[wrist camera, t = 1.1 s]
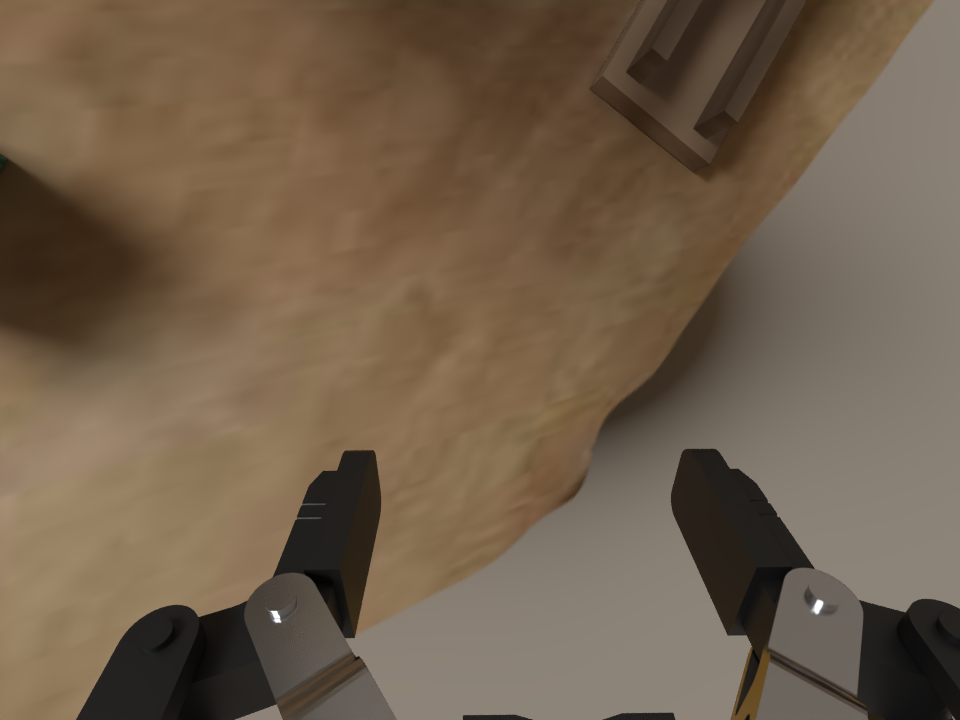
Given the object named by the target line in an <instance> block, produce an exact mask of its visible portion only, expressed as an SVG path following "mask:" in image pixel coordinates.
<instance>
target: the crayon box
mask: <svg viewBox="0 0 960 720" xmlns="http://www.w3.org/2000/svg"><path fill="white" fill-rule="evenodd" d="M6 161H7V159H6V158H5V157H4V156H2V155H1V154H0V171H1V169H2V168H3V167H4V165H5V162H6Z"/></svg>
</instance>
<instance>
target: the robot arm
mask: <svg viewBox="0 0 960 720" xmlns="http://www.w3.org/2000/svg"><path fill="white" fill-rule="evenodd" d="M671 505H672V511H673V514H674V517H675V519H676V521H677V524H678V526H679V528H680V530H681V532H682V535H683V537H684V539H685V541H686V544H687V546H688V548H689V550H690V552H691V555H692V557H693V559H694V561H695V563H696V565H697V568H698V570H699V573H700V575H701V577H702V579H703V581H704V584H705V586H706V588H707V590H708V593H709V595H710V597H711V599H712V601H713V603H714V606H715V608H716V610H717V613H718V615H719V617H720V619H721V621H722V623H723V626H724V628H725V630H726V632H727V635H747V637H748V639H749V641H750V643H751V645H752V647H751V649H750V652H749V654H748V658H747V661H746V665H745V669H744V673H743V676H742V680H741V683H740V687H739V691H738V695H737V698H736V702H735V705H734V709H733V713H732V716H731V720H953V719H952V716H953V717H954V718H955V720H960V609H959V608H957V607H955V606H953V605H950V604H948V603H945V602H942V601H938V600H933V599H921V600H917V601H915V602H914V603H912V604H911V606H910V607H909V609H908V610H907V611H906V613H905V612H901V611H898V610H894V609H890V608H886V607H882V606H878V605H875V604H871V603H867V602H864V601H860V600H858V599H857V597H856V596H855V595H854V594H853V592H852V591H851V590H850V589H849V588H848V587H847V586H846V585H844V584H843V583H842V582H840V581H839V580H837V579H836V578H834V577H833V576H831V575H829V574H827V573H824V572H822V571H819V570H815V568H814V567H813V565H812V564H811V563H810V561H809V560H808V558H807V557H806V555H805V554H804V552H803V551H802V549H801V548H800V547H799V545H798V544H797V542H796V541H795V539H794V538H793V536H792V535H791V533H790V532H789V530H788V529H787V528H786V526H785V525H784V523H783V522H782V520H781V519H780V517H777V513H776V511H775V510H774V508H773V507H772V506H771V504H770V503H768V501H767V498H766V497H765V495H764V494H763V492H762V491H761V490H760V488H759V487H758V485H757V484H756V483H755V482H754V481H753V480H752V479H750V478H749V477H748V476H746V475H745V474H744V473H743V472H742V471H740V470H739V469H730V468H729V467H728V465H727V463H726V462H725V460H724V459H723V457H722V456H721V454H720V453H719V452H718V451H717V450H716V449H685V450H684V451H683V452H682V455H681V458H680V462H679V466H678V469H677V473H676V477H675V481H674V484H673V488H672V493H671ZM380 512H381V491H380V483H379V476H378V469H377V461H376V455H375V452H374V451H373V450H352V451H344V453H343V455H342V458H341V461H340V464H339V467H338V470H337V471H323V472H322V473H321V474H320V475H319V476H318V477H317V478H316V479H315V480H314V481H313V482H312V483H311V484H310V485H309V487H308V490H307V492H306V495H305V497H304V500H303V505H302V506H301V508H300V510H299V513H298V515H297V520H295V523H294V525H293V528H292V530H291V533H290V535H289V538H288V541H287V543H286V546H285V548H284V551H283V553H282V556H281V558H280V561H279V563H278V566H277V568H276V571H275V573H274V575H273V577H272V578H271V579H269V580H267V581H266V582H264V583H263V584H262V585H260V586H259V587H258V588H257V589H256V590H255V591H254V592H253V594H252V595H251V596H250V598H249V600H248V601H246V602H244V603H242V604H240V605H237V606H234V607H231V608H228V609H224V610H221V611H218V612H214V613H211V614H208V615H204V616H201V617H198V616H197V614H196V613H195V611H194V610H192V609H191V608H189V607H187V606H183V605H171V606H166V607H162V608H160V609H157V610H155V611H153V612H151V613H149V614H147V615H145V616H144V617H142V618H141V619H140V620H138V621H137V622H136V623H135V624H134V625H133V626H132V627H131V628H129V630H128V631H127V632H126V633H125V634H124V636H123V637H122V639H121V640H120V642H119V644H118V645H117V647H116V649H115V651H114V653H113V654H112V656H111V658H110V660H109V662H108V663H107V665H106V667H105V669H104V671H103V672H102V674H101V676H100V678H99V680H98V681H97V683H96V685H95V687H94V689H93V690H92V692H91V694H90V696H89V697H88V699H87V701H86V703H85V705H84V706H83V708H82V710H81V712H80V714H79V715H78V717H77V719H76V720H235V719H237V718H240V717H243V716H246V715H249V714H251V713H254V712H257V711H259V710H262V709H265V708H268V707H270V706H273V705H276V704H277V706H278V708H279V711H280V714H281V716H282V718H283V720H397V719H396V717H395V716H394V714H393V712H392V710H391V709H390V707H389V705H388V703H387V702H386V700H385V698H384V696H383V694H382V693H381V691H380V689H379V687H378V685H377V684H376V682H375V680H374V678H373V677H372V675H371V673H370V671H369V670H368V668H367V666H366V665H365V663H364V662H363V660H362V659H361V658H360V657H359V656H358V657H355V655H354V654H353V652H352V650H351V649H350V647H349V645H348V644H347V641H346V640H345V638H355V634H356V629H357V624H358V619H359V615H360V610H361V605H362V600H363V596H364V591H365V586H366V581H367V576H368V572H369V567H370V562H371V557H372V552H373V548H374V543H375V538H376V533H377V528H378V524H379V519H380ZM463 720H532V719H528V718H525V717H521V716H517V715H464V716H463ZM604 720H675V717H674V714H673V713H625V714H624V713H622V714H619V715H616V716H613V717H610V718H607V719H604Z"/></svg>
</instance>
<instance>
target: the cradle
mask: <svg viewBox="0 0 960 720" xmlns="http://www.w3.org/2000/svg"><path fill="white" fill-rule="evenodd" d="M806 1H807V0H641V1H640V3H639V5H638V6H637V8H636V10H635V12H634V13H633V15H632V17H631V18H630V20H629V22H628V24H627V25H626V27H625V29H624V30H623V32H622V34H621V36H620V37H619V39H618V41H617V42H616V44H615V46H614V48H613V49H612V51H611V53H610V54H609V56H608V58H607V60H606V61H605V63H604V65H603V66H602V68H601V70H600V72H599V73H598V75H597V77H596V78H595V80H594V82H593V84H592V85H591V87H590V89H591V90H593V91H594V92H595V93H596V94H597V95H599V96H600V97H601V98H602V99H604V100H605V101H606V102H607V103H609V104H610V105H611V106H612V107H614V108H615V109H616V110H617V111H619V112H620V113H621V114H622V115H623V116H625V117H626V118H627V119H628V120H630V121H631V122H632V123H633V124H635V125H636V126H637V127H638V128H640V129H641V130H642V131H643V132H645V133H646V134H647V135H648V136H649V137H651V138H652V139H653V140H654V141H656V142H657V143H658V144H659V145H661V146H662V147H663V148H664V149H666V150H667V151H668V152H669V153H671V154H672V155H673V156H674V157H675V158H677V159H678V160H679V161H680V162H682V163H683V164H684V165H685V166H687V167H688V168H689V169H690V170H692V171H693V172H694V171H696V170H698V169H700V168H703V167H705V166H707V165H710V163H711V162H712V160H713V158H714V156H715V155H716V153H717V151H718V149H719V148H720V146H721V144H722V142H723V140H724V139H725V137H726V135H727V133H728V132H729V130H730V128H731V126H732V125H734V124H736V123H738V122H739V120H740V118H741V117H742V115H743V113H744V111H745V109H746V108H747V106H748V104H749V102H750V101H751V99H752V97H753V95H754V94H755V92H756V90H757V88H758V86H759V85H760V83H761V81H762V79H763V78H764V76H765V74H766V72H767V70H768V69H769V67H770V65H771V63H772V62H773V60H774V58H775V56H776V55H777V53H778V51H779V49H780V47H781V46H782V44H783V42H784V40H785V39H786V37H787V35H788V33H789V31H790V30H791V28H792V26H793V24H794V23H795V21H796V19H797V17H798V16H799V14H800V12H801V10H802V8H803V7H804V5H805V3H806Z"/></svg>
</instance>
